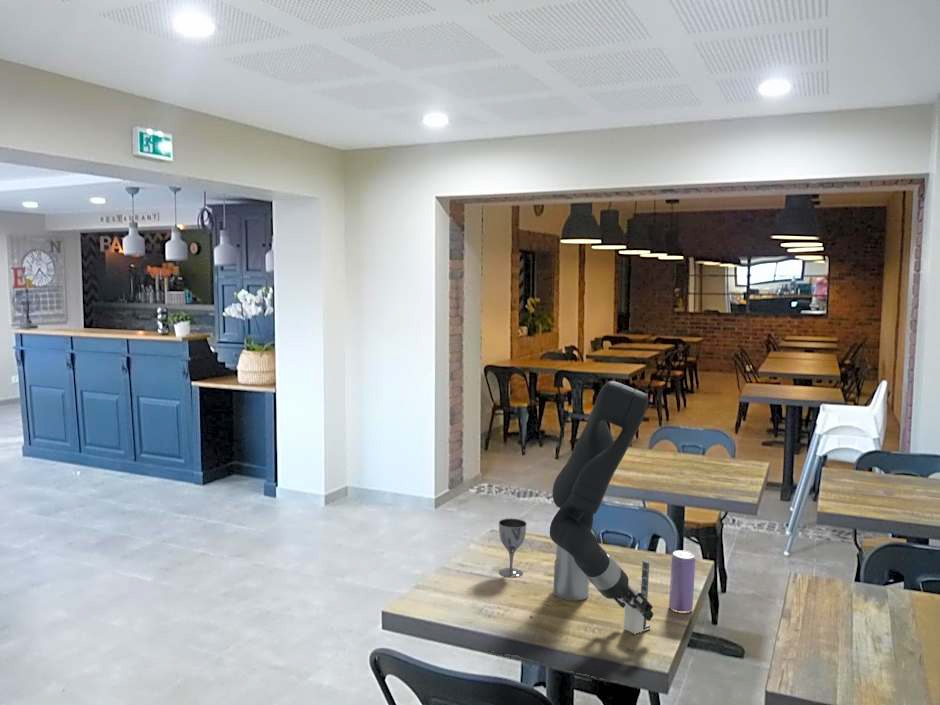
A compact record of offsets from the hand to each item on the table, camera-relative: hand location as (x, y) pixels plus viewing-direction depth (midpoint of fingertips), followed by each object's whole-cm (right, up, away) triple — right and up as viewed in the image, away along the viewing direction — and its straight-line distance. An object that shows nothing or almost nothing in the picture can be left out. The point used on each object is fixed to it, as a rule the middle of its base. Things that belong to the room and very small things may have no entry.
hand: (637, 610), depth 185 cm
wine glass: (-29, -1, +34) cm, 45 cm away
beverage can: (+14, -4, +13) cm, 20 cm away
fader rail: (+2, -5, +2) cm, 6 cm away
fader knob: (-1, -5, 0) cm, 5 cm away
